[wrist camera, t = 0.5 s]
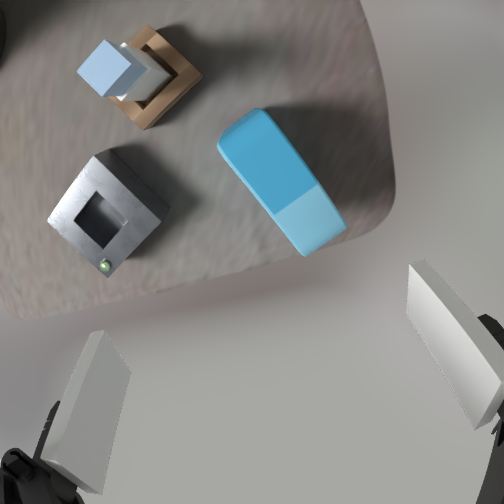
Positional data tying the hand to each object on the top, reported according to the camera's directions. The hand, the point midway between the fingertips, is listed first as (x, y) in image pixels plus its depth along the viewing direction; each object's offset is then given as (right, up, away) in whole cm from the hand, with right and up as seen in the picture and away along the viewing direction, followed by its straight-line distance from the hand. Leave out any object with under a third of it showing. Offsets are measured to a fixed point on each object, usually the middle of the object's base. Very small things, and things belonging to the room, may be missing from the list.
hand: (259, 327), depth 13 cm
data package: (+2, +13, +22) cm, 25 cm away
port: (-17, +8, +23) cm, 30 cm away
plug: (-11, +21, +16) cm, 29 cm away
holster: (-11, +21, +17) cm, 29 cm away
